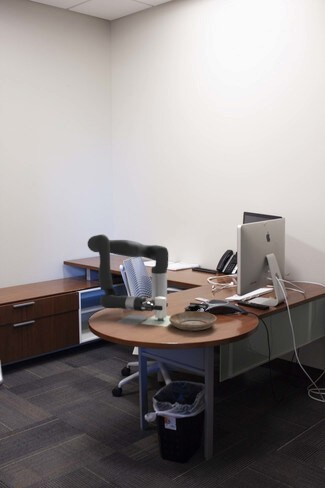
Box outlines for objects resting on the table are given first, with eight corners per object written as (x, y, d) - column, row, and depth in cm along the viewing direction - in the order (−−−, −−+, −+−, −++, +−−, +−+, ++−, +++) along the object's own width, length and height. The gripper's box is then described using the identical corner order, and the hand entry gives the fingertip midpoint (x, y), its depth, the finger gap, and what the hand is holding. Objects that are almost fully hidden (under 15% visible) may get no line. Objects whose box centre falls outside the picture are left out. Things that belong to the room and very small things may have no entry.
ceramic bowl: (187, 317, 273) (187, 308, 272) (225, 325, 258) (225, 316, 257) (160, 328, 255) (159, 318, 255) (198, 337, 240) (198, 327, 240)
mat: (130, 314, 279) (130, 314, 279) (150, 317, 274) (150, 316, 274) (115, 323, 264) (115, 322, 264) (136, 325, 260) (136, 324, 259)
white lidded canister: (157, 314, 271) (157, 296, 269) (168, 315, 268) (168, 297, 267) (153, 317, 265) (152, 298, 264) (163, 318, 263) (163, 299, 261)
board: (155, 315, 278) (155, 314, 278) (179, 317, 272) (179, 317, 272) (141, 324, 262) (141, 323, 262) (166, 327, 256) (166, 326, 256)
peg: (159, 319, 269) (159, 311, 269) (164, 319, 268) (164, 312, 267) (156, 320, 266) (156, 313, 266) (162, 321, 265) (162, 313, 264)
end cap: (209, 315, 277) (209, 303, 276) (205, 318, 270) (205, 306, 269) (191, 313, 281) (191, 301, 280) (187, 316, 274) (187, 304, 273)
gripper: (129, 299, 265) (159, 303, 258) (141, 293, 278) (170, 296, 271) (129, 313, 266) (159, 317, 259) (142, 307, 279) (170, 310, 272)
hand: (164, 306), depth 265 cm, fingers closed on white lidded canister, 6 cm apart
